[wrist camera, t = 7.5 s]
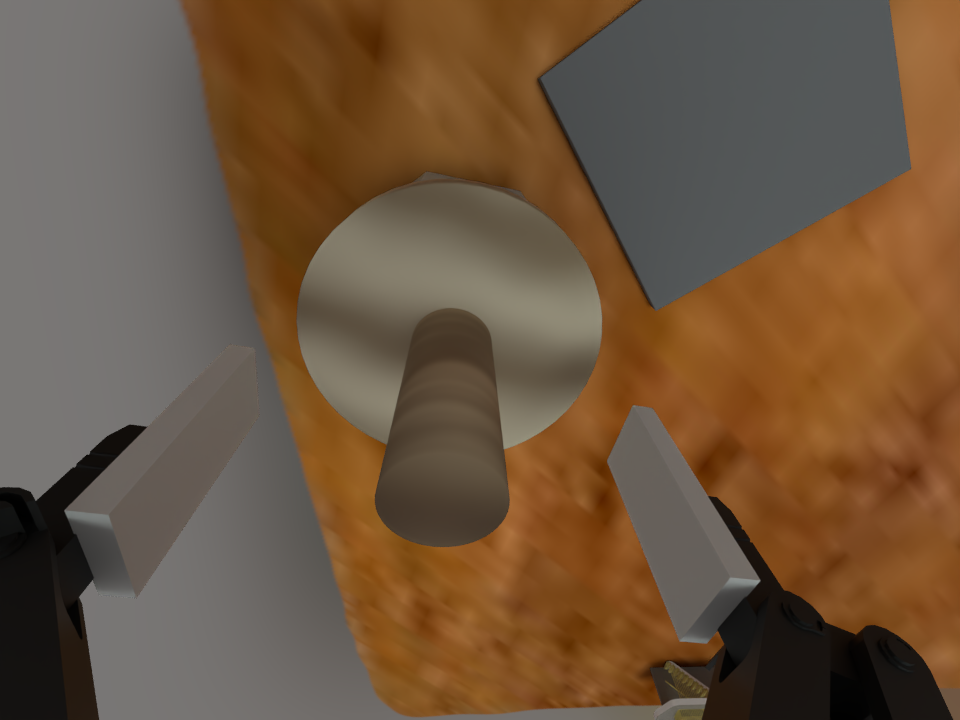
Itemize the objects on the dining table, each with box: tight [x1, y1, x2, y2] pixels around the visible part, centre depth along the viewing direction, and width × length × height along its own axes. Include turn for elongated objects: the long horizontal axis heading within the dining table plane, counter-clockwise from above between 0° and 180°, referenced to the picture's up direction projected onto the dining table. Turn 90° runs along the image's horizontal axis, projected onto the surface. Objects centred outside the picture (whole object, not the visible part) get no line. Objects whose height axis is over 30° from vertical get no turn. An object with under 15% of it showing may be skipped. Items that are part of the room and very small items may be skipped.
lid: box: [297, 179, 602, 547], centre depth 16 cm, size 14×14×11 cm
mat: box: [538, 0, 911, 310], centre depth 21 cm, size 14×14×1 cm
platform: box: [650, 661, 715, 720], centre depth 47 cm, size 12×18×7 cm, turn 89°
